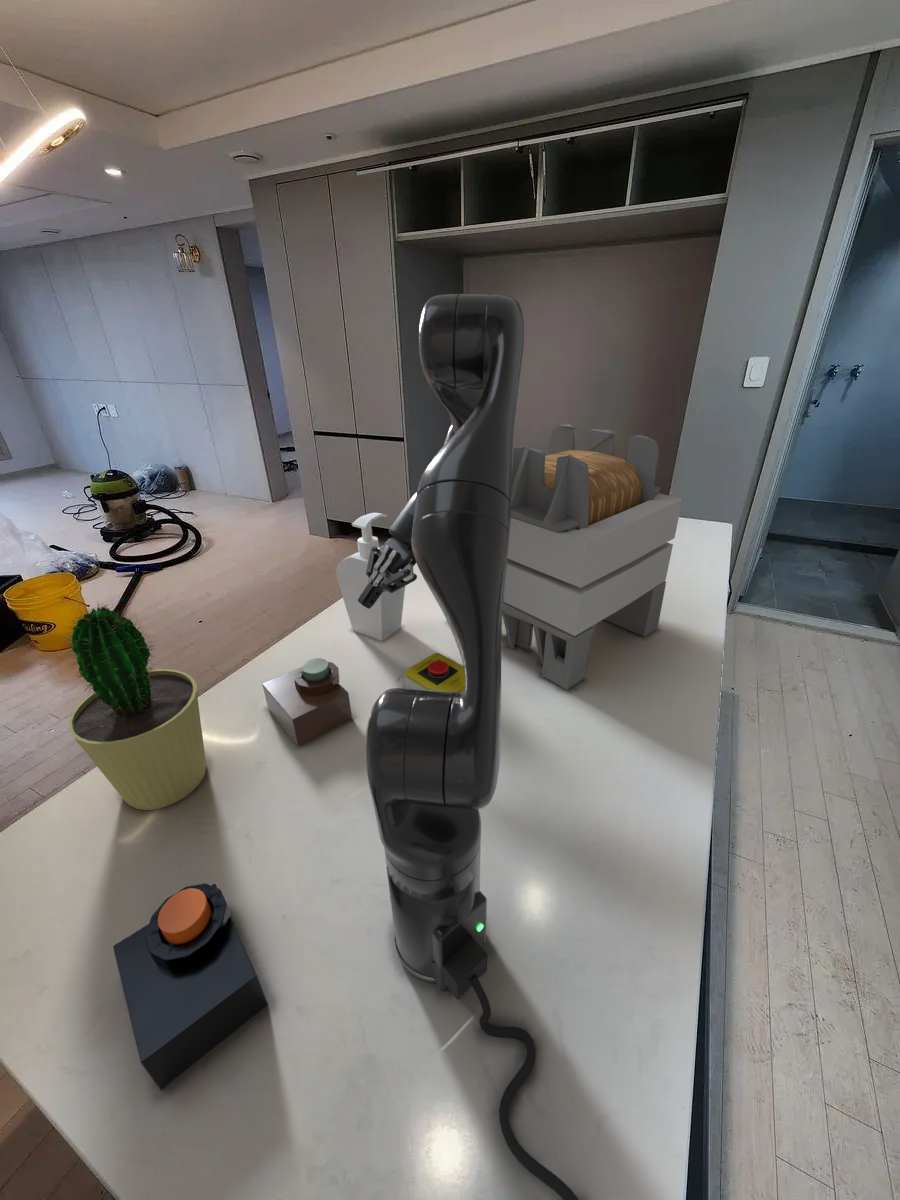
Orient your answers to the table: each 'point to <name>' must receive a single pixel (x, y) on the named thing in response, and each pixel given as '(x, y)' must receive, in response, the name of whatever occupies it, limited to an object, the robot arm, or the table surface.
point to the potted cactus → (135, 714)
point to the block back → (307, 704)
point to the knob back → (315, 670)
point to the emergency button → (435, 675)
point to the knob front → (184, 916)
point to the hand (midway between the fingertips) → (363, 605)
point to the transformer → (585, 546)
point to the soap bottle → (354, 581)
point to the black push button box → (187, 990)
